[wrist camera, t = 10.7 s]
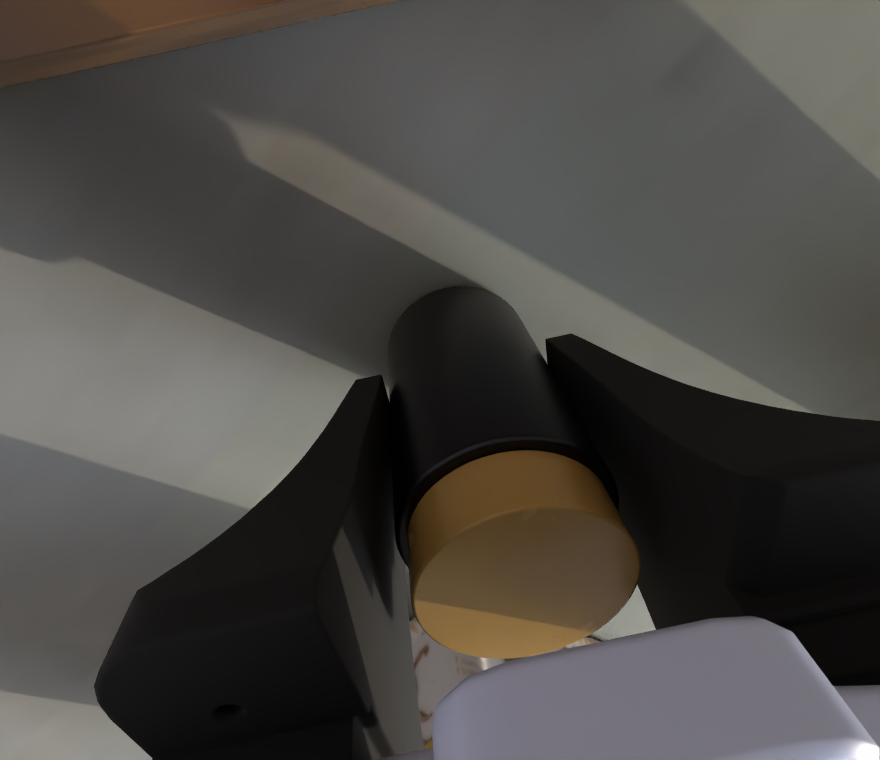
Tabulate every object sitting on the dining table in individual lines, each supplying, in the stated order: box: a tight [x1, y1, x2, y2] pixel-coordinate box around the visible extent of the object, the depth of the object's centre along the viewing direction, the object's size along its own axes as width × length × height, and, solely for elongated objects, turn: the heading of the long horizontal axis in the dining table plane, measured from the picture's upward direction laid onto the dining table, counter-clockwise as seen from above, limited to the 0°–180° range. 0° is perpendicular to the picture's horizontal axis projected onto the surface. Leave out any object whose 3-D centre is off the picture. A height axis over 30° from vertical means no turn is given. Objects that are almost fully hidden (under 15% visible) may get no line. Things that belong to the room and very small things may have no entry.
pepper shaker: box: [388, 287, 640, 659], centre depth 11 cm, size 4×4×8 cm
